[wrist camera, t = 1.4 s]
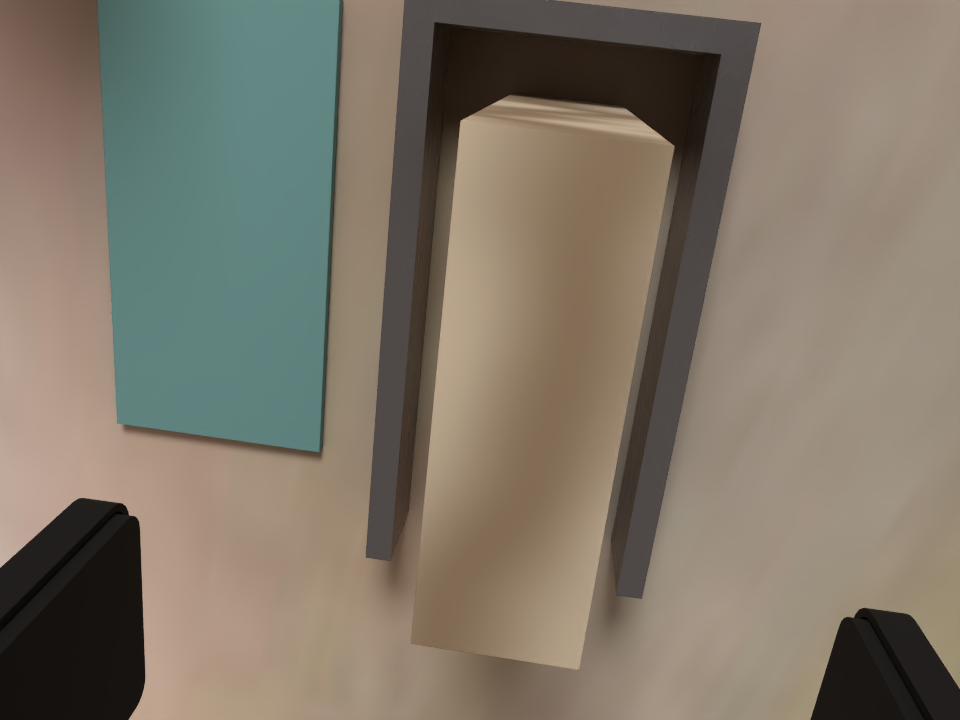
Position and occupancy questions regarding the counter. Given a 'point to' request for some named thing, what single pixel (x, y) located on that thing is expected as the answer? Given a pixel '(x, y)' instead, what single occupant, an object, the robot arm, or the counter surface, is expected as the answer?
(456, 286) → the wooden block
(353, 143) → the counter surface
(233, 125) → the mat
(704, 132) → the bracket
